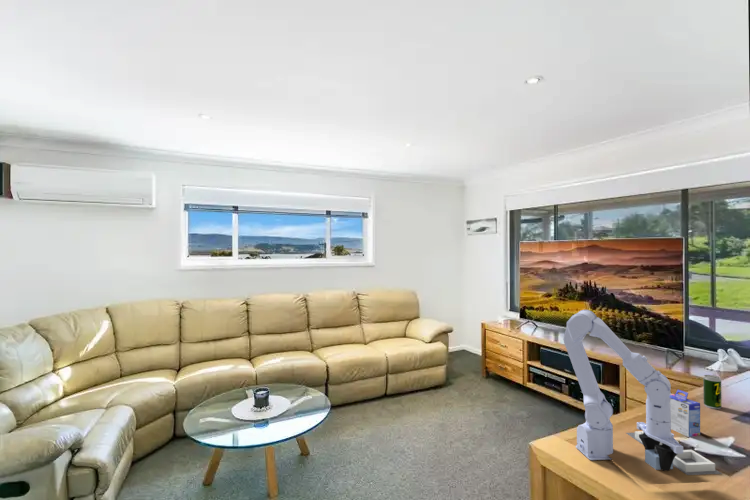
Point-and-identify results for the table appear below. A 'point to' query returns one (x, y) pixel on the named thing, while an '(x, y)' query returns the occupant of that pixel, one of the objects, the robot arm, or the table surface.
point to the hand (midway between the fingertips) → (658, 465)
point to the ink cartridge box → (685, 414)
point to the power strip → (687, 460)
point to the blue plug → (653, 459)
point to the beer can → (712, 391)
